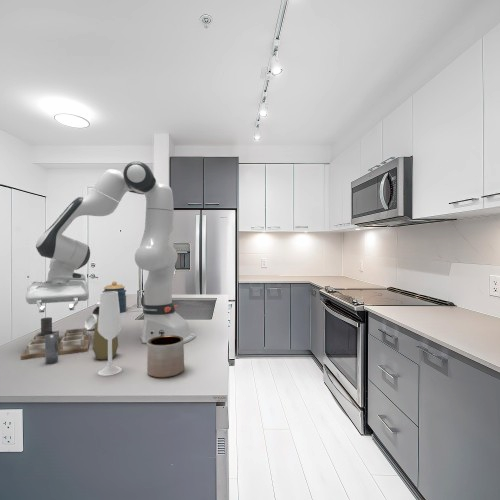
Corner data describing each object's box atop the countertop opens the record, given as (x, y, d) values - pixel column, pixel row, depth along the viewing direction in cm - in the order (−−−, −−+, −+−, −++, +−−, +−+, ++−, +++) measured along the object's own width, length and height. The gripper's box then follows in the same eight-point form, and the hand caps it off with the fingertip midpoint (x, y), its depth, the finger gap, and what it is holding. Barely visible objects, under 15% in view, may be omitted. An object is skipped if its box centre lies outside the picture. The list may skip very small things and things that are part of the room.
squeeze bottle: (93, 362, 104) (92, 307, 103) (92, 355, 111) (91, 303, 111) (119, 358, 107) (119, 305, 107) (117, 351, 115) (116, 301, 114)
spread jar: (119, 325, 153) (118, 301, 153) (106, 331, 142) (105, 305, 142) (95, 324, 154) (95, 300, 154) (80, 330, 143) (80, 305, 143)
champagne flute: (124, 372, 96) (123, 293, 95) (99, 377, 92) (98, 294, 92) (119, 365, 101) (118, 290, 101) (96, 369, 98) (95, 292, 97)
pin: (60, 361, 106) (60, 334, 105) (50, 364, 102) (50, 337, 102) (53, 359, 107) (52, 333, 107) (42, 363, 103) (42, 335, 103)
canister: (97, 313, 180) (97, 282, 180) (111, 309, 193) (110, 279, 192) (118, 314, 178) (118, 282, 177) (130, 309, 190) (130, 280, 190)
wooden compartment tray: (90, 336, 133) (90, 312, 133) (87, 351, 115) (87, 323, 115) (34, 343, 125) (33, 317, 125) (20, 359, 107) (20, 329, 107)
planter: (184, 377, 92) (184, 344, 92) (145, 380, 90) (145, 346, 90) (184, 363, 103) (183, 334, 103) (149, 366, 101) (148, 336, 101)
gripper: (27, 276, 118) (20, 307, 109) (88, 274, 126) (87, 303, 117) (30, 287, 122) (24, 318, 113) (89, 284, 130) (88, 312, 121)
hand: (56, 310), depth 115 cm, fingers open, 8 cm apart
